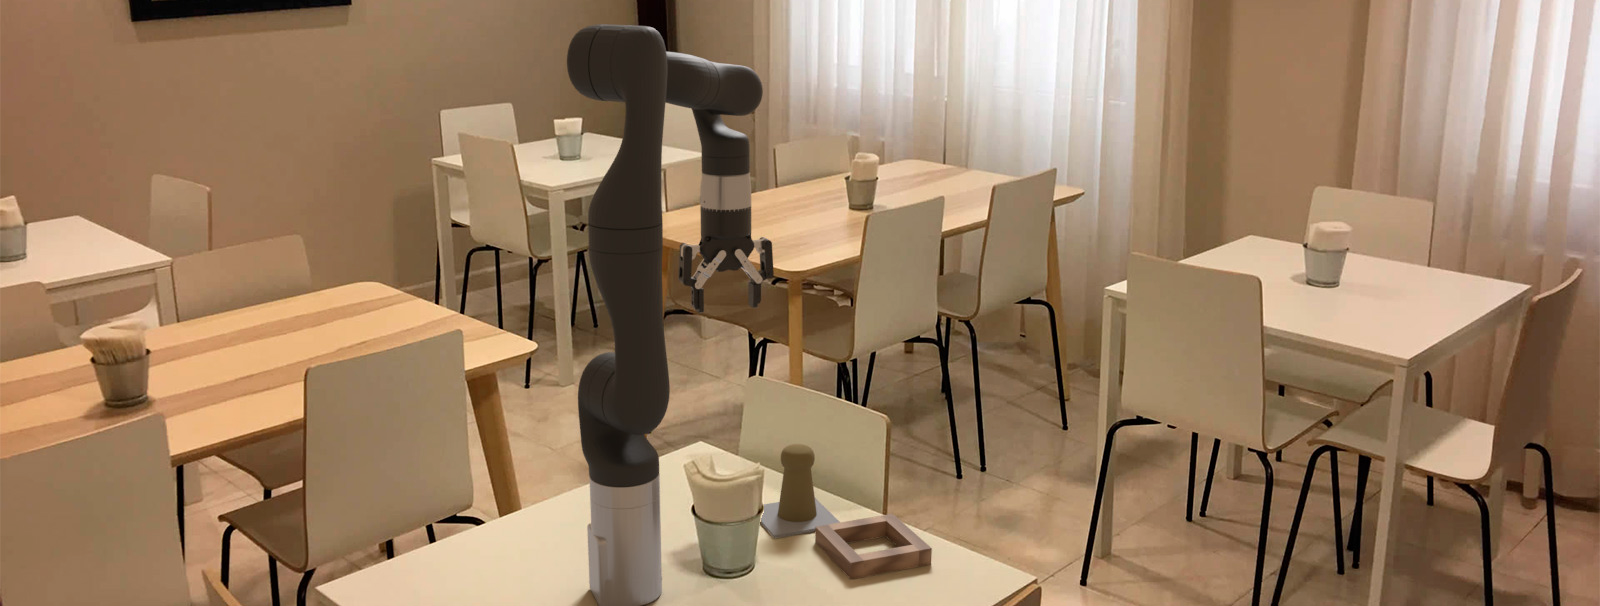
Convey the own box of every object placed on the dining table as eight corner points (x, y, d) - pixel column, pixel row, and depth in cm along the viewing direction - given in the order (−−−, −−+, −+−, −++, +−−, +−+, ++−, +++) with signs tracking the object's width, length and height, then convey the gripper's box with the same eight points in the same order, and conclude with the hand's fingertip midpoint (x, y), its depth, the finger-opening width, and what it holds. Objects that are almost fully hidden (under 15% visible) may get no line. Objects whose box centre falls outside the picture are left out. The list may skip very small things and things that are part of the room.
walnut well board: (850, 579, 180) (850, 562, 179) (815, 542, 191) (815, 526, 190) (931, 564, 184) (931, 548, 184) (892, 528, 196) (892, 513, 195)
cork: (812, 523, 196) (813, 455, 193) (773, 520, 197) (773, 452, 194) (820, 507, 202) (820, 441, 199) (782, 503, 203) (782, 438, 200)
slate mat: (774, 538, 192) (774, 535, 192) (748, 509, 202) (748, 506, 202) (841, 526, 196) (841, 523, 196) (813, 499, 206) (813, 496, 206)
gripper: (687, 210, 185) (688, 320, 189) (780, 204, 190) (779, 311, 194) (671, 201, 191) (673, 307, 196) (762, 195, 197) (762, 298, 201)
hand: (726, 309), depth 195 cm, fingers open, 8 cm apart
